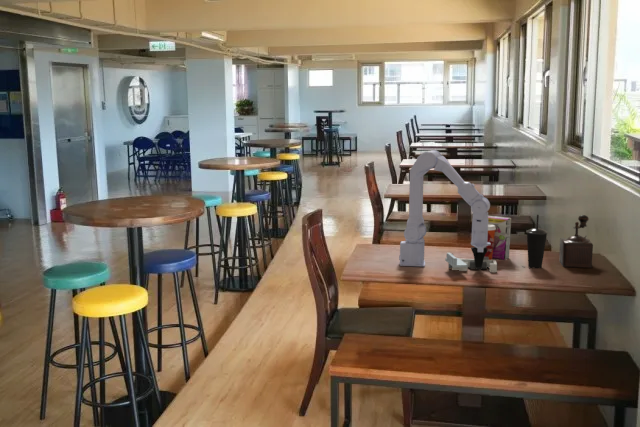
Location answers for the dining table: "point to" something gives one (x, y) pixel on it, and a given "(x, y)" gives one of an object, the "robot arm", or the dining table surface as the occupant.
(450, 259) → the cover
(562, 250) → the manual coffee grinder
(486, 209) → the robot arm
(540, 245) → the drinking cup
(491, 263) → the pale grey rectangular block
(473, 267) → the gray tin can
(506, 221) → the candy bar box
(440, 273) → the dining table surface
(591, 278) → the dining table surface
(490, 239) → the paper cup
